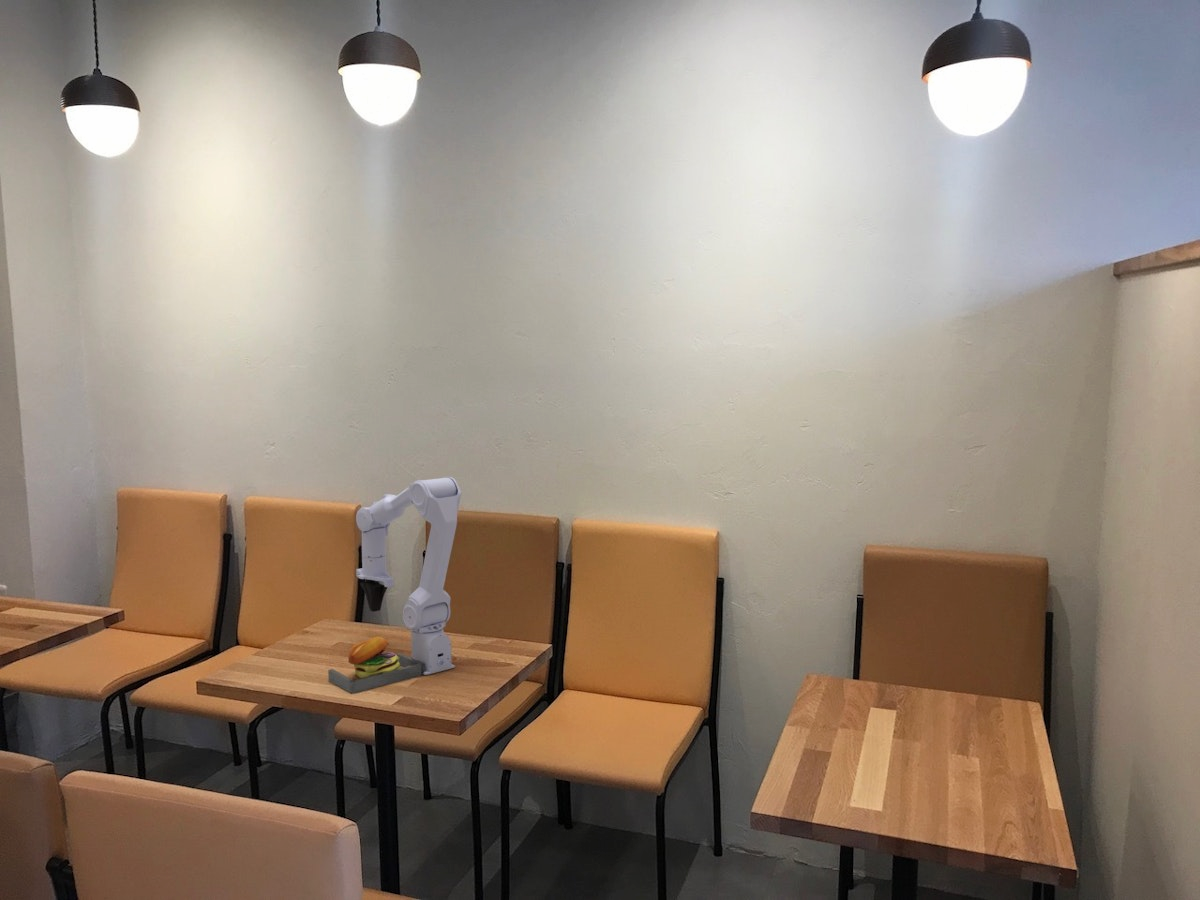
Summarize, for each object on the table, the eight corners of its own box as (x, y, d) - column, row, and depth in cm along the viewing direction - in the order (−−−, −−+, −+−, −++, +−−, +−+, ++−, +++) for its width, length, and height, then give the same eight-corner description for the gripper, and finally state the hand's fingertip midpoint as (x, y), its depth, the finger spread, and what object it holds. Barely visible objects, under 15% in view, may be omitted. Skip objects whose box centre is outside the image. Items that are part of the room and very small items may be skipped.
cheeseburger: (396, 684, 203) (384, 641, 202) (349, 695, 204) (337, 651, 203) (408, 668, 213) (396, 627, 212) (363, 678, 214) (352, 637, 213)
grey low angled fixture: (425, 674, 210) (424, 663, 209) (351, 693, 198) (351, 682, 197) (400, 663, 217) (400, 652, 217) (328, 681, 205) (328, 669, 205)
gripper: (344, 553, 229) (345, 607, 230) (374, 562, 218) (375, 619, 220) (370, 549, 234) (371, 602, 235) (400, 558, 223) (401, 614, 224)
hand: (375, 610), depth 228 cm, fingers closed
